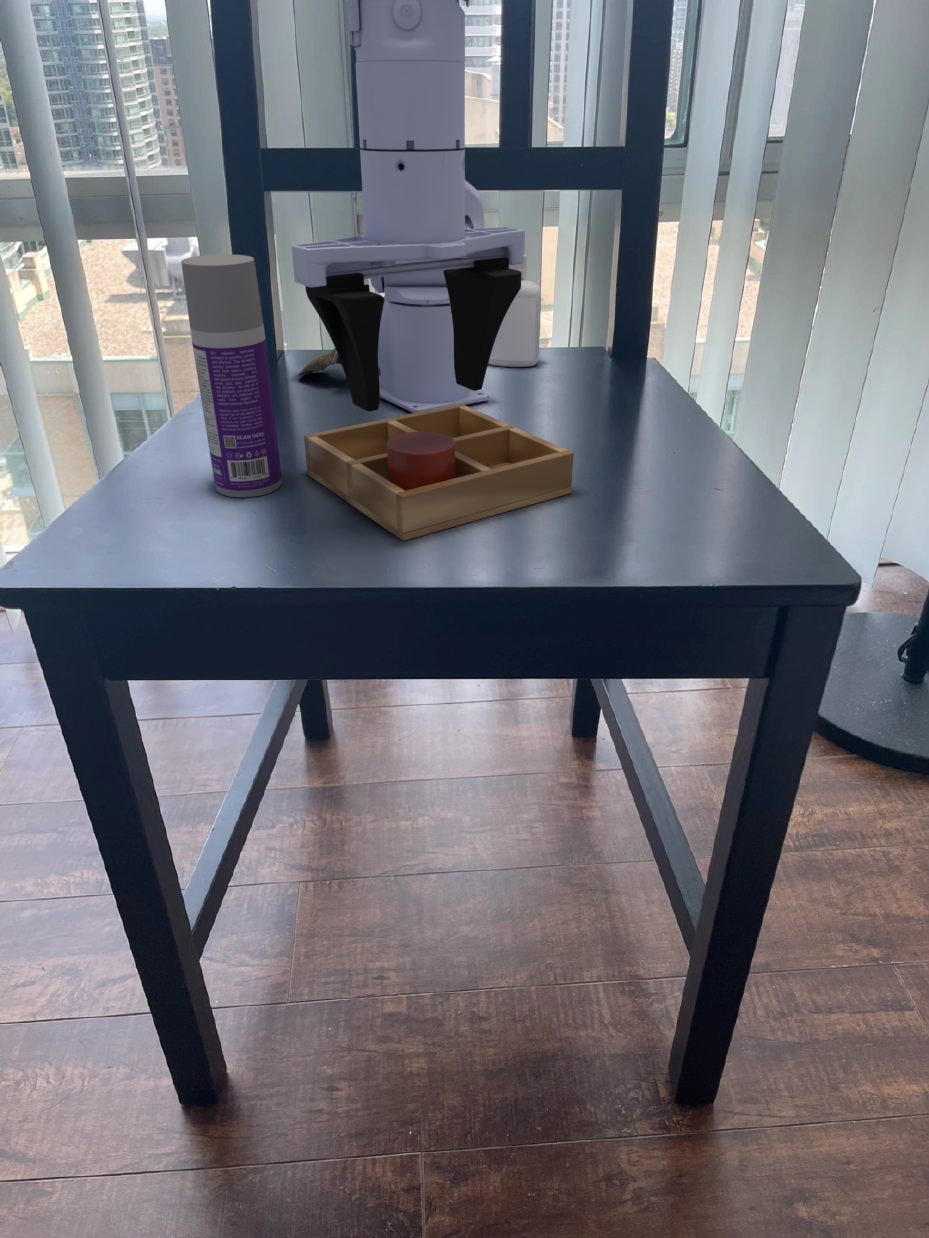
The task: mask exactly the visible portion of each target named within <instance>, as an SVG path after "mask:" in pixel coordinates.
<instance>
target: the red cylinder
mask: <svg viewBox="0 0 929 1238" xmlns="http://www.w3.org/2000/svg"><path fill="white" fill-rule="evenodd" d="M387 465H388V481H390V482H392V483H393V484H395V485H397V486H398V487H400V488H401V489H403V490H405V491H407V490H411V489H415V488H419V487H423V486H427V485H431V484H435V483H439V482H443V481H447V480H451V479H454V478H455V441H454V440H453V439H452V438H451V437H449V436H447V435H444V434H441V433H435V432H409V433H403V434H399V435H396V436H394V437H392V438H390V439H389V440H388V441H387Z"/></svg>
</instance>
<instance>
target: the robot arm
mask: <svg viewBox="0 0 929 1238" xmlns="http://www.w3.org/2000/svg"><path fill="white" fill-rule="evenodd" d="M345 1H346V10H347V25H348V33H349V35H348V36H349V43H350V46H352V47H354V51H355V61H356V62H355V79H356V81H355V82H356V97H357V99H356V100H357V114H358V115H357V117H358V133H359V148H360V149H359V153H360V155H359V156H360V172H361V175H360V176H361V188H362V189H361V191H362V208H363V209H362V210H363V212H362V213H363V225H364V226H363V229H364V234H362V235H361V234H360V235H355V236H348V237H341V238H336V239H330V240H323V241H316V242H308V243H300V244H299V243H298V244H292V245H290V246H291V256H292V257H291V258H292V267H293V268H292V269H293V278H294V279H293V280H294V282H295V283H296V284H299V285H302V286H304V287H305V288H304V289H305V293H306V296H307V298H308V300H309V302H310V303H311V305H312V307H313V309H314V310H315V311H316V314H317V315H318V317H319V319H320V321H321V322H322V324H323V325H324V327H325V330H326V331H327V333H328V336H329V337H330V340H331V342H332V344H333V346H334V348H335V349H336V351H337V354H338V356H339V359H340V361H341V364H342V365H341V364H340V365H341V366H342V370H343V373H344V375H345V379H346V381H347V385H348V389H349V393H350V397H351V401H352V405H354V406H357V408H360V409H362V410H364V411H366V412H373V411H375V412H376V411H378V410H379V408H380V398H381V399H382V400H385V401H388V402H390V403H392V404H394V405H396V406H398V407H400V408H402V409H404V410H406V411H408V412H409V413H411V414H412V413H417V412H422V411H427V410H432V409H437V408H442V407H447V406H452V405H457V404H463V405H465V406H468V405H471V404H476V403H481V402H486V401H489V394H487V393H485V392H482V391H481V390H482V389H483V386H484V383H485V378H486V374H487V371H488V366H489V364H488V363H489V359H490V355H491V352H492V349H493V345H494V342H495V339H496V336H497V334H498V331H499V329H500V326H501V324H502V322H503V319H504V317H505V315H506V313H507V311H508V309H509V307H510V305H511V304H512V302H513V300H514V298H515V297H516V295H517V294H518V292H519V290H520V289H521V276H522V272H521V271H518V270H514V269H509V265H516V264H523V263H524V254H525V248H526V247H525V245H526V230H525V229H521V228H514V227H509V226H502V227H501V226H500V227H486V220H485V203H484V200H483V198H481V193H480V191H479V190H477V188H475V187H474V186H473V185H472V184H471V183H470V182H469V181H467V180H466V171H465V170H466V150H465V148H466V147H465V146H466V134H465V133H466V79H465V78H466V12H465V11H464V10H463V8H462V7H461V5H460V4H459V2H458V1H457V0H345ZM462 1H463V2H465V6H466V8H469V6H470V2H471V0H462ZM367 279H369V280H370V285H371V287H372V288H373V289H374V290H375V291H376V292H372V291H370V290H371V289H370V285H369V284H365V280H367ZM381 294H384V295H381Z"/></svg>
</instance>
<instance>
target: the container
mask: <svg viewBox="0 0 929 1238" xmlns="http://www.w3.org/2000/svg"><path fill="white" fill-rule="evenodd" d="M180 264H181V271H182V277H183V285H184V292H185V301H186V308H187V313H188V314H187V315H188V322H189V323H188V324H189V329H190V338H191V345H192V350H193V357H194V364H195V369H196V377H197V382H198V389H199V395H200V401H201V408H202V413H203V418H204V426H205V431H206V432H205V433H206V437H207V444H208V450H209V456H210V464H211V469H212V474H213V475H212V476H213V481H214V487H215V490H216V492H218V493H219V494H221V495H222V496H226V497H231V498H255V497H260V496H265V495H268V494H271V493H273V492H275V491H276V490H278V489H279V488H280V487H281V486H282V485H283V479H282V478H283V477H282V468H281V460H280V451H279V443H278V434H277V425H276V415H275V407H274V399H273V389H272V382H271V373H270V365H269V356H268V347H267V339H266V333H265V326H264V317H263V312H262V311H263V310H262V305H261V298H260V297H261V296H260V290H259V283H258V276H257V270H256V263H255V258H254V257H253V256H250V255H243V254H207V255H196V256H190V257H187V258H184V259H182V260H181V261H180Z"/></svg>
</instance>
